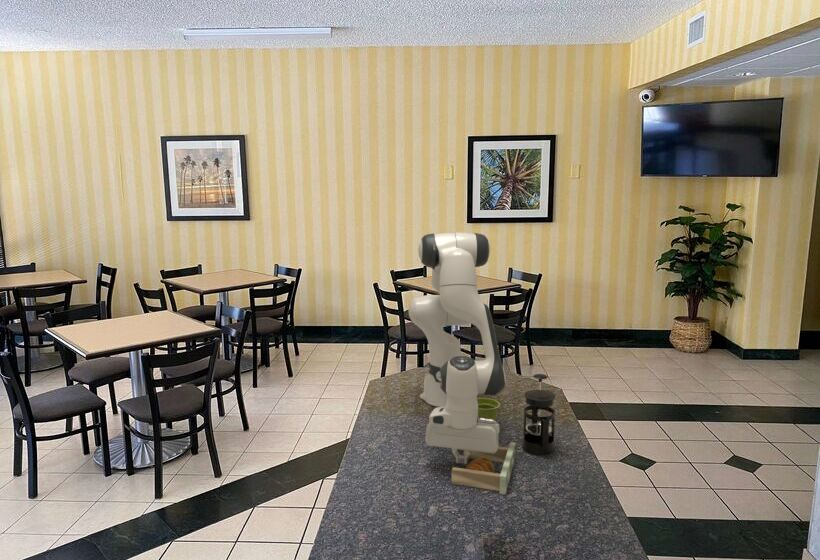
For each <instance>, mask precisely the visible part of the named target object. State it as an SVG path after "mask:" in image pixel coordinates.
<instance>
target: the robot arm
mask: <svg viewBox="0 0 820 560" xmlns="http://www.w3.org/2000/svg"><path fill="white" fill-rule="evenodd" d="M419 242H420V243H419V245H418V248H417V250H418V257H419V259H420V262H421V263H422V265H423V266H425V267H426V268H427V267H428V268H429V269H430V268H431V285H432V287H433V289H434V290H435V291H436V292H437V293H438V294H430V295H429V294H427V295H421V296H417V297H414V298H412V300H411V301H410V302H409V305H408V316H409V319H410V320H411V322H412V323H413V324H414V325H415V326H417V327H418V328H419V329H420V330H421V331H422V332H423V333H424V335H425V337H426V339H427V343H428V350H429V361H428V366H427V368H428V370H427V371H428V373H427V374H426V375H425V376H424V382H423V383H424V384H423V385H424V386H423V392H422V393H421V394H419V398H420V399H422V400H424V401H425V402H426V404H428V405H431V406H432V407H433V406H434V407H435V408H434V409H433V410H432V411H431V412H430V414H429V417H428V421H429V423H428V424H427V425H426V430H425V439H424V440H425V441H424V442H425V443H426V444H427V446H430V447H437V448H438V447H439V448H444V449H447V448H448V449H451V452H452V454H453V456H454V457H455V463H456V464H463V465H468V459H469V458H468V456H469V455H470V453H471V451H476V452H484V453H492V454H494V453H496V452H497V450H498V447H499V446H500V441H499V434H500V432H501V429H500V428H501V427H500V424H499V423H498V422H497V421H496V420H495V421H494V420H493V419H484V418H478V402H477V398H478V396H479V395H484V396H497V395H498V394H499V393H501V392H502V391H503V390H504V389H505V387H506V380H507V378H506V373H505V369H504V365H503V363H502V359H501V355H500V349H499V345H498V340H497V334H496V329H495V326H494V322H493V317H492V314H491V310H490V307H489V306H488V304H485V303H483V301H482V299H481V298H480V295H479V291H478V279H477V277H478V276H477V271H476V270H477V269H476V268H480V267H482V266H485V265H486V264H487V263H488V261H489V258H490V255H491V246H490V243H489V239H488V237H487V236H486V235H485V234H482V233H478V232H477V233H476V232H475V233H470V232H469V233H468V232H459V231H458V232H457V231H456V232H455V231H454V232H444V233H443V232H442V233H428V234H423V236H422V238H421V240H420V241H419ZM467 325H473V326H474V327H476V328H477V329H478V330H479V333H480V335H481V340H482V341H481V342H482V345H483V350H484V356H485V358H484V359H481V360H475V359H474V358H472V357H469V356H468V355H467V356H466V355H461V346H462V345H461V342H460V340H459V339H458V338H457V337H456V336H455V335H453V334H450V333H448V332H446V331H445V330H444V327H447V326H467ZM458 450H461V451H464V450H465V453H467V454H466V455H465V456H464V454H463V455H462V454H460V453H459V451H458Z"/></svg>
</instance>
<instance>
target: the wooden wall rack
mask: <svg viewBox="0 0 820 560" xmlns="http://www.w3.org/2000/svg"><path fill="white" fill-rule="evenodd" d="M466 454H467V453H465V450H463V456H465V455H466ZM479 457H487V458H489V459H490V460H491V461H492V462H497V463H503V464H502V469H501V471H500V473H498V472H493V473H491V472H484V471H477V470H469V469H465V468H461V467H454V466H453V467H452V468H451V484H452V485H458V486H463V485H464V487H470V488H479V489H484V490H485V489H486V490H491V491H498V492H499V494H500V495H506V494H507V490H508V487H509V484H510V478H511V476H512V473H513V468H514V465H515V461H516V442H512V441H511V442H509V445H508V446H507V447H506V446H500V445H499V447H498V450H497V452H496V453H494V454H492V453H484V452H476V451H471V453H470V455H469V456H468V458H467V459H473V460H476V459H477V458H479Z"/></svg>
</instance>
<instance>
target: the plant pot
mask: <svg viewBox="0 0 820 560" xmlns="http://www.w3.org/2000/svg"><path fill="white" fill-rule="evenodd" d="M477 402H478V418H484V419H493V420H494V421H496V419H497V414H498V413H497V412H498V410H499V408H500V406H501V403H500V402H499V401H497V400H496V399H493V398H491V397H490V398H489V397H477Z"/></svg>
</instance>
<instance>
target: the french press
mask: <svg viewBox="0 0 820 560" xmlns="http://www.w3.org/2000/svg"><path fill="white" fill-rule="evenodd" d="M532 377H533V378H534V379H537V380H538V382H539V389H531V390H527V391H526V392H524V395H523V396H524V398H525V403H526V404H527V405H528V406H525V407H524V409H523V430H522V431H523V434H522V437H523V438H522V450H523V451H524V452H525V453H527V454H529V455H532V456H538V457H539V456H541V457H542V456H544V457H545V456H549V455H551V454H553V453H554V451H555V446H554V445H555V420H556V419H555V417H556V411H555V409H554V408H552V406H554V403H555V399H556V395H555V393H554V392H551V391H549V390H544V389H542V387H541V386H542V382H543V380H546V379H548V378H549V376H548V375H547V374H544V373H535V374H533V376H532ZM541 410H542V411H546V412H548V413H549V412H550V413H551V414H550V415H547V416H546V415H545V416H541ZM528 411H531V414H530V413H527V412H528ZM527 419H528V420H531V422H530V423H527ZM550 421H551V425H550ZM536 443H537V444H536ZM538 443H539V444H538Z"/></svg>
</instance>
